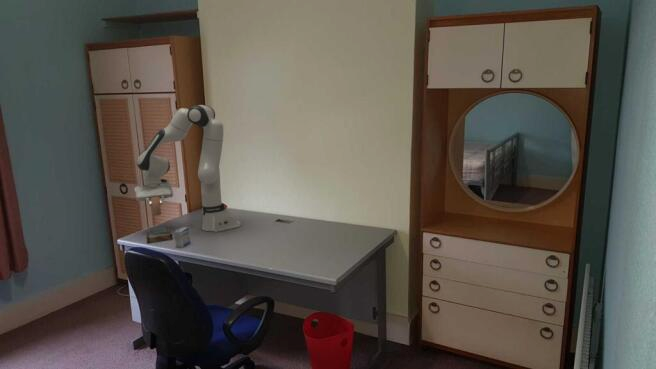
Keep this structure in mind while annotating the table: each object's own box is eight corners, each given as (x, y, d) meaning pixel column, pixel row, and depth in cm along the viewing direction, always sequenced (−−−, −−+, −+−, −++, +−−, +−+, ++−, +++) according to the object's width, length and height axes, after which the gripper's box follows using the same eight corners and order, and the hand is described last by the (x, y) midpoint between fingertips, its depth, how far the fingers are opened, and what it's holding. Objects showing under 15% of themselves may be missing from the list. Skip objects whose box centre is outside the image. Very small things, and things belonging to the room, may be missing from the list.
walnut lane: (170, 232, 270) (170, 227, 269) (172, 239, 257) (172, 234, 256) (146, 235, 265) (146, 230, 264) (147, 243, 252) (146, 238, 251)
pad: (165, 227, 278) (165, 227, 278) (167, 232, 269) (166, 231, 269) (153, 229, 276) (153, 229, 276) (154, 234, 267) (154, 233, 267)
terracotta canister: (161, 212, 268) (159, 196, 266) (161, 214, 264) (159, 197, 262) (152, 213, 266) (150, 196, 264) (153, 215, 262) (151, 198, 260)
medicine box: (183, 247, 243) (181, 231, 242) (175, 247, 244) (173, 231, 242) (190, 242, 251) (188, 227, 249) (183, 242, 252) (181, 226, 250)
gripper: (133, 183, 263) (135, 204, 257) (171, 179, 271) (174, 199, 265) (134, 189, 268) (136, 209, 262) (171, 185, 276) (174, 205, 270)
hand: (156, 204), depth 263 cm, fingers closed on terracotta canister, 4 cm apart
